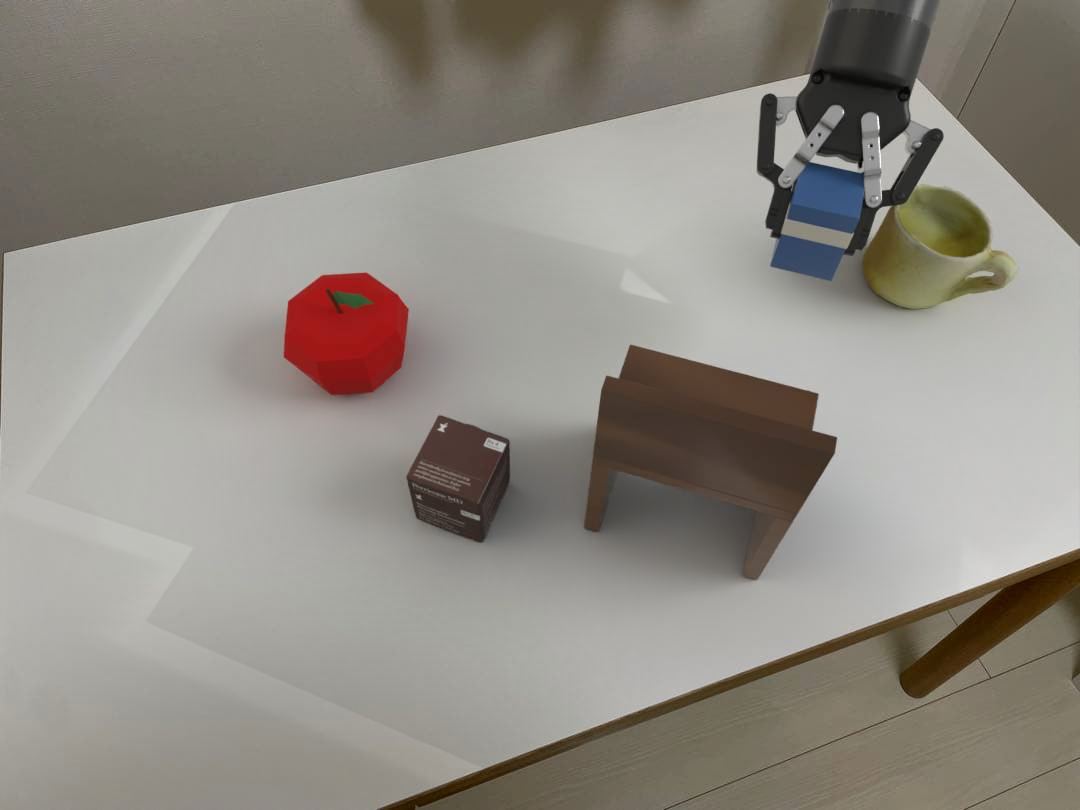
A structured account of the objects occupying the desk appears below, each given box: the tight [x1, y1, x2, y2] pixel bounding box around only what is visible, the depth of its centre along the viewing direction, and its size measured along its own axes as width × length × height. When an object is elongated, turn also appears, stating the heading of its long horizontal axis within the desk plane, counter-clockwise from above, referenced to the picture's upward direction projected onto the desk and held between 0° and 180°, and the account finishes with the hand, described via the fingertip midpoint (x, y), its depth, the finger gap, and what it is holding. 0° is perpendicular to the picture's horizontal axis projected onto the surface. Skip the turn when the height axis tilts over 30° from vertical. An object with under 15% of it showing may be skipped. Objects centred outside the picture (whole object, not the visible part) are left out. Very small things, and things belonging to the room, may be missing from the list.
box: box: [405, 414, 511, 544], centre depth 66 cm, size 6×6×7 cm
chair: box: [583, 344, 838, 581], centre depth 61 cm, size 10×14×20 cm
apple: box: [283, 271, 410, 396], centre depth 72 cm, size 11×11×10 cm
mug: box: [862, 184, 1019, 310], centre depth 79 cm, size 12×10×10 cm
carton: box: [769, 161, 864, 282], centre depth 67 cm, size 5×5×7 cm
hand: (811, 245), depth 67 cm, fingers closed on carton, 5 cm apart
